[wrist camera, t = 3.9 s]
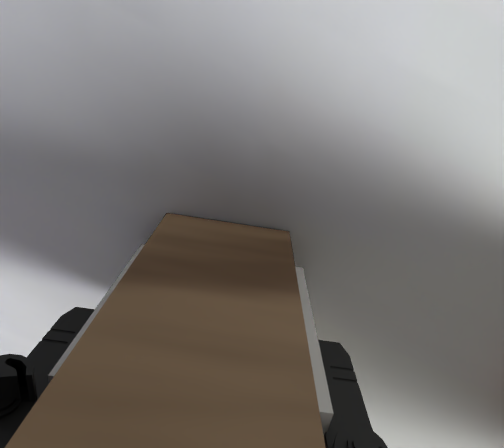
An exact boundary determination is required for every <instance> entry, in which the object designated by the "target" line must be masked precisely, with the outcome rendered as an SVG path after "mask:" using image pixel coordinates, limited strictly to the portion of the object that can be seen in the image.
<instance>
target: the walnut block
mask: <svg viewBox="0 0 504 448" xmlns="http://www.w3.org/2000/svg"><path fill="white" fill-rule="evenodd" d="M5 448H326V447H325V441H324V435H323V429H322V423H321V417H320V412H319V406H318V400H317V394H316V388H315V382H314V376H313V370H312V364H311V358H310V352H309V346H308V340H307V334H306V328H305V322H304V316H303V310H302V304H301V298H300V293H299V287H298V281H297V275H296V269H295V263H294V257H293V251H292V245H291V239H290V233H289V231H282V230H275V229H269V228H262V227H256V226H249V225H243V224H236V223H229V222H223V221H216V220H210V219H203V218H196V217H190V216H183V215H177V214H170V213H166V215H165V216H164V218H163V219H162V221H161V222H160V224H159V225H158V227H157V228H156V229H155V231H154V232H153V234H152V235H151V237H150V238H149V240H148V241H147V242H146V244H145V245H144V247H143V248H142V250H141V251H140V253H139V254H138V255H137V257H136V258H135V260H134V261H133V263H132V264H131V266H130V267H129V268H128V270H127V271H126V273H125V274H124V276H123V277H122V279H121V280H120V282H119V283H118V284H117V286H116V287H115V289H114V290H113V292H112V293H111V295H110V296H109V297H108V299H107V300H106V302H105V303H104V305H103V306H102V308H101V309H100V310H99V312H98V313H97V315H96V316H95V318H94V319H93V321H92V322H91V323H90V325H89V326H88V328H87V329H86V331H85V332H84V334H83V335H82V337H81V338H80V339H79V341H78V342H77V344H76V345H75V347H74V348H73V350H72V351H71V352H70V354H69V355H68V357H67V358H66V360H65V361H64V363H63V364H62V365H61V367H60V368H59V370H58V371H57V373H56V374H55V376H54V377H53V378H52V380H51V381H50V383H49V384H48V386H47V387H46V389H45V390H44V392H43V393H42V394H41V396H40V397H39V399H38V400H37V402H36V403H35V405H34V406H33V407H32V409H31V410H30V412H29V413H28V415H27V416H26V418H25V419H24V420H23V422H22V423H21V425H20V426H19V428H18V429H17V431H16V432H15V433H14V435H13V436H12V438H11V439H10V441H9V442H8V444H7V445H6V447H5Z"/></svg>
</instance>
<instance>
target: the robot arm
mask: <svg viewBox="0 0 504 448" xmlns="http://www.w3.org/2000/svg"><path fill="white" fill-rule="evenodd" d="M144 245H145V244H141V246H140V247H139V248H138V250H137V251H136V253H135V254H134V255H133V257H132V258H131V260H130V261H129V262H128V264H127V265H126V267H125V268H124V269H123V271H122V272H121V274H120V275H119V277H118V278H117V279H116V281H115V282H114V284H113V285H112V286H111V288H110V289H109V291H108V292H107V293H106V295H105V296H104V298H103V299H102V300H101V302H100V303H99V305H98V306H97V307H96V309H95V310H94V309H87V308H80V307H75V308H73V309H72V310H70V311H69V312H67V313H65V314H64V315H62V316H61V317H60V318H59V319H58V320H57V322H56V323H55V324H54V325H53V326H52V328H51V330H50V331H48V332H47V334H46V335H45V336H44V337H43V338H42V341H40V342H39V343H38V344H37V346H36V347H35V348H34V349H33V350H32V352H31V353H30V354H29V355H28V356H27V358H26V357H24V356H22V355H14V354H7V355H1V356H0V448H5V447H6V445H7V444H8V442H9V441H10V439H11V438H12V436H13V435H14V433H15V432H16V431H17V429H18V428H19V426H20V425H21V423H22V422H23V420H24V419H25V418H26V416H27V415H28V413H29V412H30V410H31V409H32V407H33V406H34V405H35V403H36V402H37V400H38V399H39V397H40V396H41V394H42V393H43V392H44V390H45V389H46V387H47V386H48V384H49V383H50V381H51V380H52V378H53V377H54V376H55V374H56V373H57V371H58V370H59V368H60V367H61V365H62V364H63V363H64V361H65V360H66V358H67V357H68V355H69V354H70V352H71V351H72V350H73V348H74V347H75V345H76V344H77V342H78V341H79V339H80V338H81V337H82V335H83V334H84V332H85V331H86V329H87V328H88V326H89V325H90V323H91V322H92V321H93V319H94V318H95V316H96V315H97V313H98V312H99V310H100V309H101V308H102V306H103V305H104V303H105V302H106V300H107V299H108V297H109V296H110V295H111V293H112V292H113V290H114V289H115V287H116V286H117V284H118V283H119V282H120V280H121V279H122V277H123V276H124V274H125V273H126V271H127V270H128V268H129V267H130V266H131V264H132V263H133V261H134V260H135V258H136V257H137V255H138V254H139V253H140V251H141V250H142V248H143V247H144ZM295 269H296V275H297V281H298V287H299V293H300V298H301V304H302V310H303V316H304V322H305V328H306V334H307V340H308V346H309V352H310V358H311V364H312V370H313V376H314V382H315V388H316V394H317V400H318V406H319V412H320V417H321V423H322V429H323V435H324V441H325V447H326V448H388V447H387V446H386V444H385V443H384V441H383V440H382V439H381V438H380V437H379V436H378V435H377V434H376V433H375V432H374V431H373V429H372V427H371V424H370V421H369V418H368V414H367V411H366V408H365V405H364V401H363V398H362V395H361V392H360V388H359V385H358V383H357V379H356V375H355V372H353V366H352V362H351V359H350V356H349V354H348V353H347V352H346V351H345V349H344V348H343V347H342V345H341V344H340V343H336V342H329V341H322V340H318V337H317V332H316V327H315V323H314V318H313V313H312V308H311V303H310V299H309V294H308V289H307V284H306V279H305V275H304V270H303V268H302V267H295Z"/></svg>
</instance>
